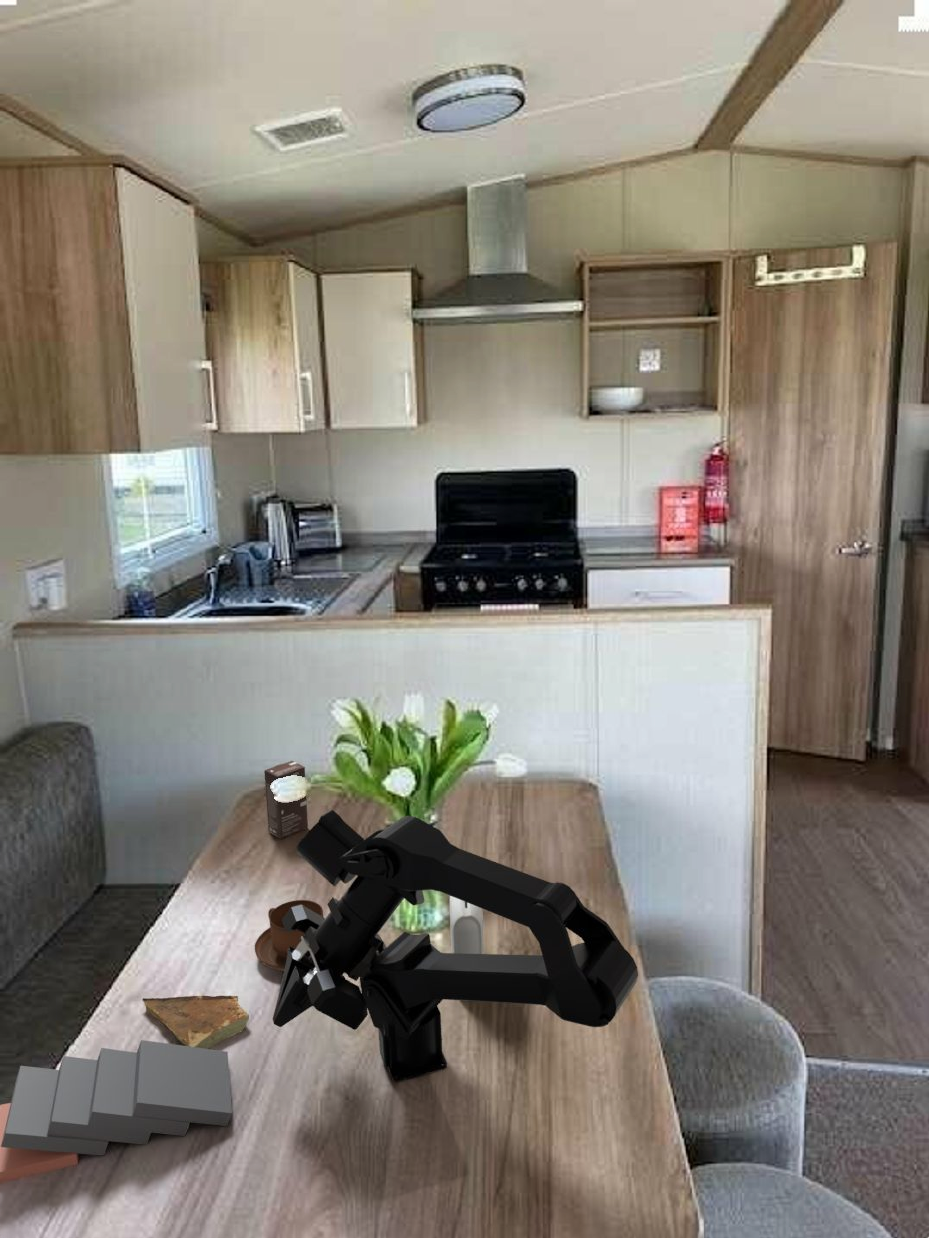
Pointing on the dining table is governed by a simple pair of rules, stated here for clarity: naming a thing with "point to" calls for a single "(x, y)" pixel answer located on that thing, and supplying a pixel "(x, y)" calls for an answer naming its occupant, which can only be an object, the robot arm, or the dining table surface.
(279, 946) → the cup and saucer
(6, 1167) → the domino
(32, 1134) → the domino
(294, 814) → the box
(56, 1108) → the domino
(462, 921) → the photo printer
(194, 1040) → the shard
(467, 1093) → the dining table surface
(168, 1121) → the domino
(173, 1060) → the domino
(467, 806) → the dining table surface
